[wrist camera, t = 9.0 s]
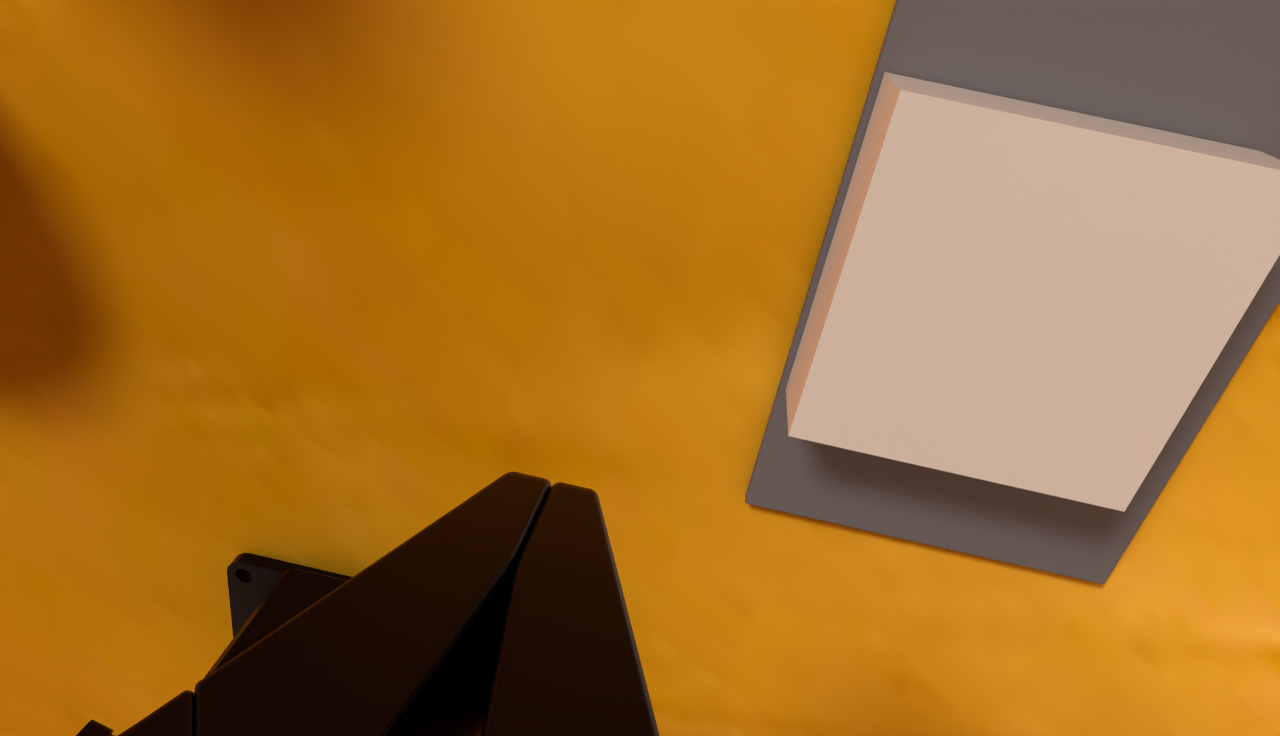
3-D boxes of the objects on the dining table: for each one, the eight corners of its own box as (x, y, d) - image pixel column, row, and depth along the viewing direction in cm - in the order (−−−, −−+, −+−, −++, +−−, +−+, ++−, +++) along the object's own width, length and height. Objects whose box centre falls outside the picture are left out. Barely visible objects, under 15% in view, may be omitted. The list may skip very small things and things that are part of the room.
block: (785, 387, 19) (1089, 455, 18) (788, 436, 17) (1124, 511, 17) (884, 71, 15) (1257, 150, 15) (900, 89, 13) (1324, 179, 13)
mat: (1099, 575, 20) (1103, 584, 20) (745, 495, 21) (745, 502, 20) (1478, -44, 13) (1493, -44, 13) (942, -150, 14) (945, -153, 13)
